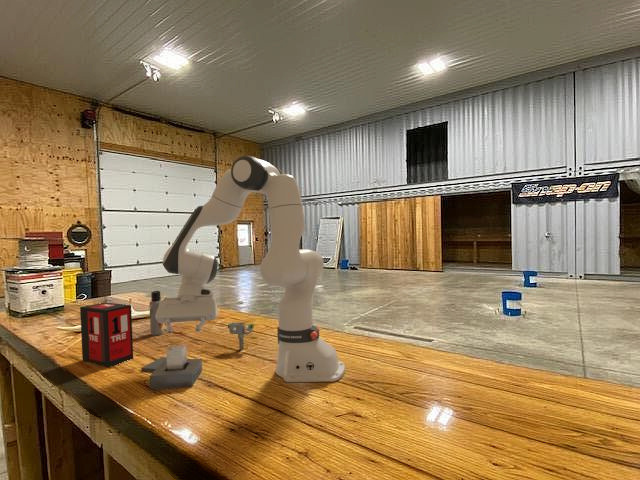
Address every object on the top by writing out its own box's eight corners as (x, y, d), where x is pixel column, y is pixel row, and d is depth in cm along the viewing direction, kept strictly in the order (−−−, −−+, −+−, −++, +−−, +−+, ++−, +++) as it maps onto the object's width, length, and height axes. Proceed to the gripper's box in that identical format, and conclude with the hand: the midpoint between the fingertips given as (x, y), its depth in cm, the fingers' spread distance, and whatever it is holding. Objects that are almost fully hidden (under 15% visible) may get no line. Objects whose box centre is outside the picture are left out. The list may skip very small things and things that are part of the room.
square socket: (202, 370, 111) (201, 358, 111) (192, 386, 99) (191, 373, 99) (164, 373, 110) (163, 361, 110) (150, 389, 98) (149, 376, 98)
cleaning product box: (133, 358, 124) (131, 305, 124) (108, 367, 117) (106, 310, 116) (107, 352, 132) (104, 302, 132) (82, 360, 124) (80, 307, 124)
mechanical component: (252, 350, 129) (251, 324, 128) (227, 349, 131) (226, 324, 131) (255, 348, 132) (254, 322, 131) (231, 347, 134) (230, 322, 133)
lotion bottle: (166, 331, 159) (164, 289, 159) (159, 335, 154) (157, 292, 153) (155, 332, 160) (153, 290, 159) (148, 335, 154) (146, 292, 154)
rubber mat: (186, 361, 120) (186, 358, 120) (167, 372, 110) (167, 369, 110) (162, 359, 122) (162, 357, 122) (141, 370, 113) (141, 367, 113)
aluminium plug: (187, 376, 107) (186, 344, 107) (183, 382, 103) (181, 349, 102) (172, 377, 107) (171, 345, 106) (167, 383, 102) (166, 350, 102)
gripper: (158, 293, 118) (148, 328, 109) (217, 290, 121) (212, 324, 111) (163, 303, 123) (153, 338, 113) (220, 300, 125) (216, 334, 115)
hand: (183, 331), depth 112 cm, fingers open, 8 cm apart
